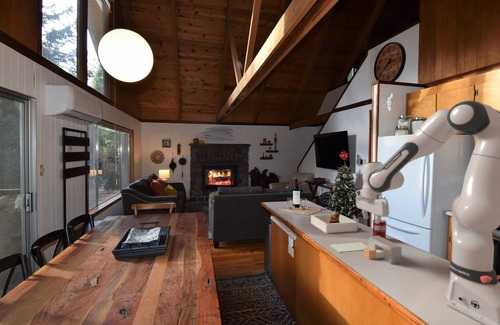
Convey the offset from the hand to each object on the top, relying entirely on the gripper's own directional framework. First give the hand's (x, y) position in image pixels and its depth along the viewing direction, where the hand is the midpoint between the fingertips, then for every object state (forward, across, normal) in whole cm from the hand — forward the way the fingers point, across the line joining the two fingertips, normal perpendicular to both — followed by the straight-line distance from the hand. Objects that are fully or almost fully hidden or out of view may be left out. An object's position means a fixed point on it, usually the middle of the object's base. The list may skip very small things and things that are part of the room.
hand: (371, 220), depth 125 cm
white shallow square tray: (+19, +50, -8) cm, 54 cm away
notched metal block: (+19, 0, -8) cm, 21 cm away
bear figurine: (+20, +47, -6) cm, 51 cm away
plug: (+19, 0, -7) cm, 20 cm away
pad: (+19, +14, +2) cm, 24 cm away
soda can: (+19, +22, -23) cm, 37 cm away
